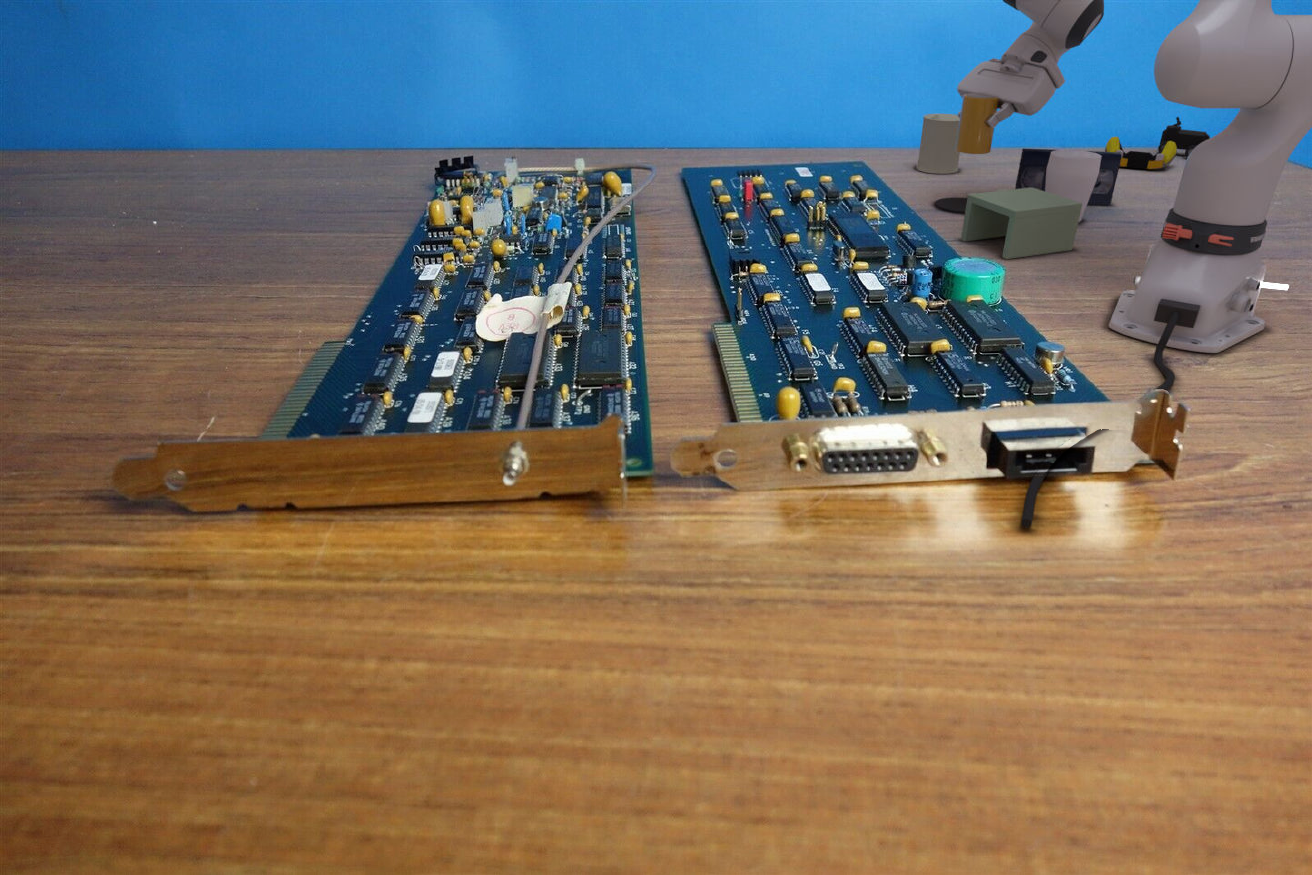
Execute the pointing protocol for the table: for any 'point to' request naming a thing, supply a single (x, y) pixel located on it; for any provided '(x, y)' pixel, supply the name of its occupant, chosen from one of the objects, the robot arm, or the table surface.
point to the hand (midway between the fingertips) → (974, 121)
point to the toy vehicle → (1182, 137)
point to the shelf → (1022, 221)
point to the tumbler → (976, 123)
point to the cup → (1072, 175)
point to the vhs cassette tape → (1036, 165)
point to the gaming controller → (1143, 155)
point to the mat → (952, 204)
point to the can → (939, 144)
